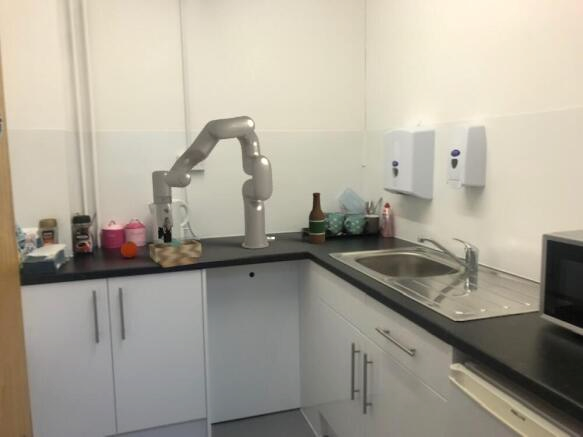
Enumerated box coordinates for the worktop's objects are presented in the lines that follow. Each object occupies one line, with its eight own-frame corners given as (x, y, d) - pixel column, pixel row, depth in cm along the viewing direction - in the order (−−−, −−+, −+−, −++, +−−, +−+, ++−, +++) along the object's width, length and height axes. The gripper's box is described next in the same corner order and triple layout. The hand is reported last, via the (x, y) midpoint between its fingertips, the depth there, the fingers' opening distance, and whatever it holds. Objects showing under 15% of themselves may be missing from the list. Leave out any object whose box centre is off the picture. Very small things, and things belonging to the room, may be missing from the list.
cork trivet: (191, 258, 196) (191, 256, 196) (198, 262, 188) (198, 261, 188) (158, 262, 190) (158, 261, 189) (163, 267, 182) (163, 265, 182)
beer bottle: (309, 240, 230) (309, 192, 226) (325, 240, 229) (325, 191, 225) (308, 243, 222) (307, 193, 219) (324, 243, 221) (324, 193, 218)
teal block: (183, 252, 204) (187, 246, 204) (186, 254, 200) (190, 248, 200) (160, 238, 198) (164, 232, 199) (163, 240, 194) (167, 234, 195)
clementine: (124, 255, 204) (123, 239, 203) (140, 254, 205) (139, 239, 204) (119, 259, 196) (118, 243, 195) (136, 259, 197) (135, 242, 196)
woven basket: (193, 251, 210) (193, 239, 209) (201, 256, 200) (201, 243, 199) (150, 256, 200) (149, 244, 200) (156, 262, 190) (155, 249, 190)
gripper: (177, 201, 189) (179, 243, 191) (166, 198, 204) (168, 236, 206) (158, 202, 185) (160, 245, 188) (149, 199, 200) (151, 238, 203)
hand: (164, 240), depth 197 cm, fingers open, 9 cm apart
